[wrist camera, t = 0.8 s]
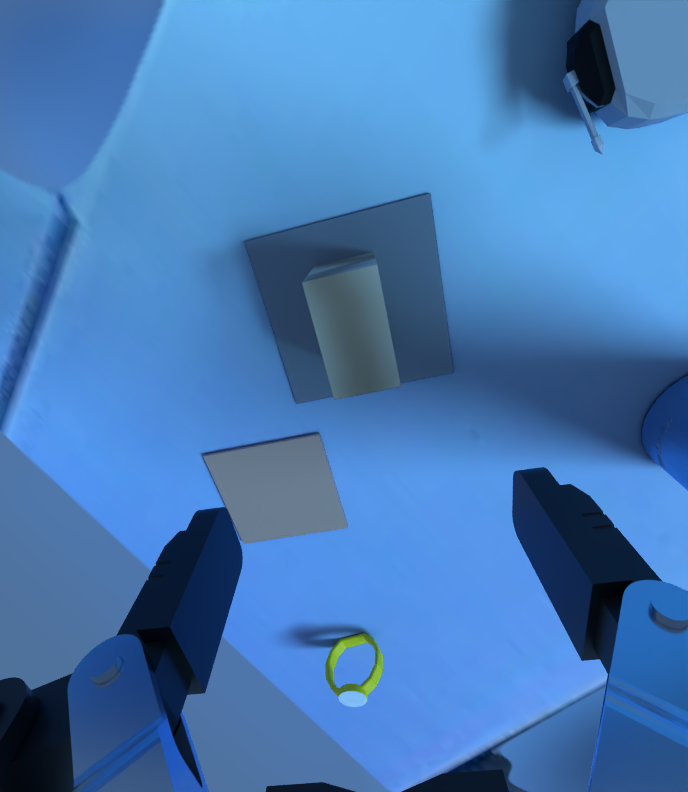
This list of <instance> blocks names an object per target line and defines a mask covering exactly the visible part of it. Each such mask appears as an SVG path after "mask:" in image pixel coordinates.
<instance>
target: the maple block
mask: <svg viewBox="0 0 688 792" xmlns="http://www.w3.org/2000/svg"><path fill="white" fill-rule="evenodd" d="M302 285H303V288H304V292H305V295H306V299H307V303H308V306H309V310H310V313H311V317H312V321H313V324H314V328H315V332H316V335H317V339H318V342H319V346H320V350H321V353H322V357H323V361H324V364H325V368H326V371H327V375H328V379H329V382H330V386H331V389H332V393H333V397H334V400H336V399H341V398H346V397H351V396H356V395H362V394H367V393H372V392H377V391H382V390H387V389H392V388H397V387H401V385H400V379H399V374H398V369H397V364H396V359H395V354H394V348H393V343H392V338H391V333H390V328H389V323H388V318H387V312H386V307H385V302H384V297H383V292H382V287H381V281H380V276H379V271H378V266H377V262H376V258H375V254H374V252H371V253H367V254H363V255H359V256H355V257H350V258H346V259H342V260H338V261H334V262H330V263H326V264H322V265H318V266H314V267H313V269H312V270H311V271H310V273H309V274H308V275H307V277H306V278H305V279H304V281H303V282H302Z"/></svg>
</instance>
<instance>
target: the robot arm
mask: <svg viewBox="0 0 688 792" xmlns="http://www.w3.org/2000/svg"><path fill="white" fill-rule="evenodd" d="M642 442H643V445H644V448H645V451H646V452H647V454H648V455H649V456H650V458H651V459H652V460H653V461H655V462H656V463H657V464H658V465H659V466H660V467H661V468H663V469H664V470H665V471H666V472H667V473H668V474H669V475H671V476H672V477H673V478H674V479H675V480H676V481H677V482H679V483H680V484H681V485H682V486H683V487H684V488H685V489H686V490H687V491H688V376H686V377H684V378H682V379H680V380H679V381H677V382H676V383H675V384H673V385H672V386H670V387H669V388H668V389H667V390H666V391H665V392H664V393H663V394H662V395H661V396H660V397H659V398H658V399H657V400H656V401H655V403H654V404H653V406H652V407H651V408H650V410H649V412H648V414H647V416H646V418H645V420H644V424H643V429H642ZM512 515H513V523H514V528H515V531H516V534H517V537H518V539H519V541H520V543H521V545H522V547H523V549H524V551H525V552H526V554H527V556H528V558H529V560H530V562H531V564H532V566H533V568H534V570H535V572H536V574H537V576H538V577H539V579H540V581H541V583H542V585H543V587H544V589H545V591H546V593H547V595H548V597H549V599H550V601H551V603H552V604H553V606H554V608H555V610H556V612H557V614H558V616H559V618H560V620H561V622H562V624H563V626H564V628H565V629H566V631H567V633H568V635H569V637H570V639H571V641H572V643H573V645H574V647H575V649H576V651H577V653H578V654H579V656H580V658H581V660H582V661H584V660H595V659H600V660H601V662H602V664H603V666H604V668H605V669H606V671H607V673H608V677H607V682H606V688H605V694H604V700H603V706H602V711H601V717H600V723H599V729H598V734H597V740H596V746H595V752H594V758H593V763H592V769H591V775H590V781H589V786H588V791H587V792H688V591H686V590H684V589H682V588H680V587H678V586H675V585H673V584H670V583H666V582H663V581H662V580H661V579H660V578H659V577H658V576H657V575H656V574H655V572H654V571H653V570H652V569H651V568H650V566H649V565H648V564H647V563H646V562H645V561H644V559H643V558H642V557H641V556H640V555H639V554H638V552H637V551H636V550H635V549H634V548H633V546H632V545H631V544H630V543H629V542H628V541H627V539H626V538H625V537H624V536H623V535H622V533H621V532H620V531H619V530H618V529H617V528H615V527H614V524H613V523H612V522H611V520H610V519H609V518H608V517H607V516H606V515H604V514H603V511H602V510H601V509H600V507H599V506H598V505H597V504H596V503H595V502H594V500H593V499H592V498H591V497H590V496H589V495H587V494H586V493H584V492H583V491H581V490H579V489H578V488H576V487H575V486H573V485H571V484H567V485H559V484H558V482H557V481H556V480H555V478H554V477H553V476H552V474H551V473H550V472H549V471H548V469H546V468H544V467H542V468H534V469H526V470H519V471H515V472H514V475H513V511H512ZM241 569H242V549H241V545H240V542H239V540H238V537H237V534H236V531H235V529H234V526H233V523H232V521H231V518H230V515H229V513H228V511H227V509H226V508H225V507H221V508H213V509H205V510H198V511H197V512H196V513H195V514H194V516H193V518H192V520H191V522H190V524H189V526H188V528H187V530H186V531H179V532H178V533H177V534H176V535H175V537H174V538H173V539H172V540H171V541H170V542H169V543H168V544H167V545H166V546H165V547H164V549H163V551H162V553H161V554H160V556H159V558H158V560H157V562H156V566H154V567H153V569H152V571H151V573H150V575H149V579H148V580H147V581H146V582H145V584H144V586H143V588H142V589H141V591H140V593H139V595H138V597H137V599H136V601H135V602H134V604H133V606H132V608H131V610H130V612H129V614H128V615H127V618H126V619H125V621H124V623H123V625H122V626H121V628H120V630H119V632H118V634H117V635H116V636H114V637H112V638H109V639H107V640H106V641H104V642H102V643H101V644H99V645H98V646H96V647H95V648H94V649H93V650H91V651H90V652H89V653H88V654H87V655H86V656H85V657H84V658H83V659H82V660H81V662H80V663H79V664H78V666H77V667H76V668H75V670H74V672H73V673H72V674H70V675H68V676H65V677H63V678H60V679H58V680H55V681H53V682H51V683H48V684H46V685H43V686H41V687H38V688H36V689H33V690H30V688H29V687H28V686H27V685H26V684H25V682H24V681H23V680H21V679H19V678H7V679H3V680H0V792H209V790H208V787H207V784H206V781H205V778H204V775H203V772H202V769H201V766H200V763H199V760H198V757H197V754H196V750H195V747H194V744H193V741H192V739H191V735H190V732H189V729H188V726H187V723H186V720H185V717H184V715H183V713H182V709H183V705H184V702H185V700H186V696H187V695H189V694H201V693H205V691H206V688H207V685H208V681H209V678H210V674H211V671H212V668H213V664H214V660H215V657H216V654H217V651H218V647H219V644H220V640H221V637H222V634H223V630H224V627H225V623H226V620H227V617H228V613H229V610H230V606H231V603H232V600H233V596H234V593H235V589H236V586H237V583H238V579H239V576H240V572H241ZM266 792H355V791H351V790H347V789H344V788H341V787H337V786H333V785H330V784H327V783H323V782H320V783H306V784H294V785H278V786H267V788H266ZM402 792H513V791H510V790H508V787H507V784H506V780H505V777H504V773H503V769H501V770H487V771H473V772H459V773H446V774H441V775H439V776H436V777H434V778H432V779H429V780H427V781H425V782H423V783H420V784H418V785H416V786H413V787H411V788H409V789H407V790H404V791H402Z"/></svg>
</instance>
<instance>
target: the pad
mask: <svg viewBox="0 0 688 792" xmlns="http://www.w3.org/2000/svg"><path fill="white" fill-rule="evenodd" d="M203 457H204V460H205V462H206V464H207V466H208V468H209V470H210V472H211V475H212V477H213V479H214V481H215V483H216V485H217V488H218V490H219V492H220V494H221V496H222V498H223V501H224V503H225V505H226V507H227V509H228V511H229V513H230V516H231V518H232V520H233V522H234V524H235V526H236V529H237V531H238V533H239V535H240V537H241V539H242V542H243V544H246V543H252V542H259V541H265V540H272V539H279V538H285V537H292V536H298V535H305V534H311V533H318V532H325V531H331V530H338V529H344V528H348V525H347V521H346V518H345V515H344V512H343V508H342V505H341V502H340V498H339V495H338V492H337V489H336V485H335V482H334V479H333V476H332V472H331V469H330V466H329V463H328V459H327V456H326V453H325V449H324V446H323V443H322V440H321V436H320V433H316V434H310V435H305V436H300V437H294V438H289V439H284V440H278V441H273V442H268V443H262V444H257V445H252V446H246V447H241V448H236V449H230V450H225V451H220V452H214V453H209V454H204V456H203Z"/></svg>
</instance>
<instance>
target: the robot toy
mask: <svg viewBox="0 0 688 792" xmlns="http://www.w3.org/2000/svg"><path fill="white" fill-rule="evenodd" d="M566 69H567V72H568V73H567V74H566V76H565V78H564V79H563V83H564V85H565V88H566V90H567V92H569V91H571V93H572V95H573V97H574V100H575V102H576V104H577V107H578V109H579V111H580V114H581V116H582V118H583V121H584V123H585V125H586V128H587V130H588V132H589V135H590V137H591V139H592V141H591V143H592V145H593V148H594V150H595V151H596V152H598V153H600V154H603V147H604V143H603V141H602V139H601V136H600V135H599V136H598V133H597V131H596V129H595V127H594V124H593V122H592V120H591V117H590V115H589V113H591V112H595V113H596V114H597V115H598V116H599V117H600V119H601V120H602V121H603V122H604V123H605V124H606V125H607V126H609V127H616V128H623V129H633V128H640V127H644V126H649V125H653V124H657V123H661V122H664V121H666V120H669V119H672V118H674V117H677V116H680V115H683V114H685V113H688V0H582V1H581V2H580V4H579V6H578V8H577V14H576V25H575V34H574V35H573V36H572V38H571V39H570V40H569V41H568V42H567V62H566Z"/></svg>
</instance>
